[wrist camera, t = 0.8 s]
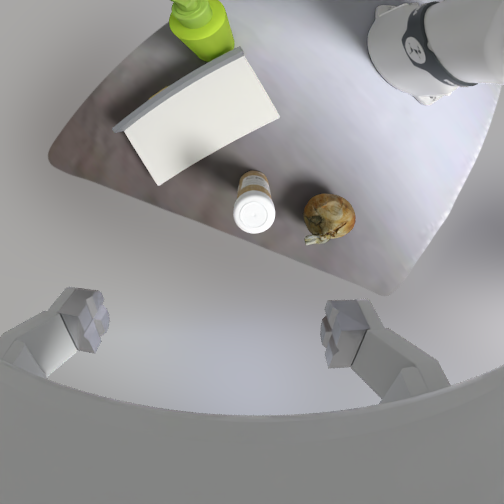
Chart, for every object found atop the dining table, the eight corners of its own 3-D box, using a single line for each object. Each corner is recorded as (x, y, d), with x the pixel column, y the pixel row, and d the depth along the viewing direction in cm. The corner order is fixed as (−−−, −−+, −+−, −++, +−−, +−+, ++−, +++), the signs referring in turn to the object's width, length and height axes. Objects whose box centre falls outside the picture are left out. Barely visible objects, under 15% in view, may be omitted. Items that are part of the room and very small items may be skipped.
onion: (338, 236, 45) (352, 260, 38) (294, 226, 44) (301, 249, 37) (353, 195, 42) (371, 213, 34) (307, 182, 41) (319, 197, 34)
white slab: (241, 54, 31) (238, 44, 26) (278, 117, 36) (282, 117, 31) (128, 124, 36) (110, 126, 31) (164, 181, 41) (151, 191, 35)
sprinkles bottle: (234, 191, 42) (226, 225, 30) (245, 165, 40) (242, 188, 28) (262, 202, 42) (265, 240, 31) (273, 176, 40) (282, 204, 29)
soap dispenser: (206, 19, 28) (170, -43, 11) (242, 41, 30) (233, -17, 13) (181, 46, 30) (124, 2, 13) (216, 69, 32) (182, 31, 15)
